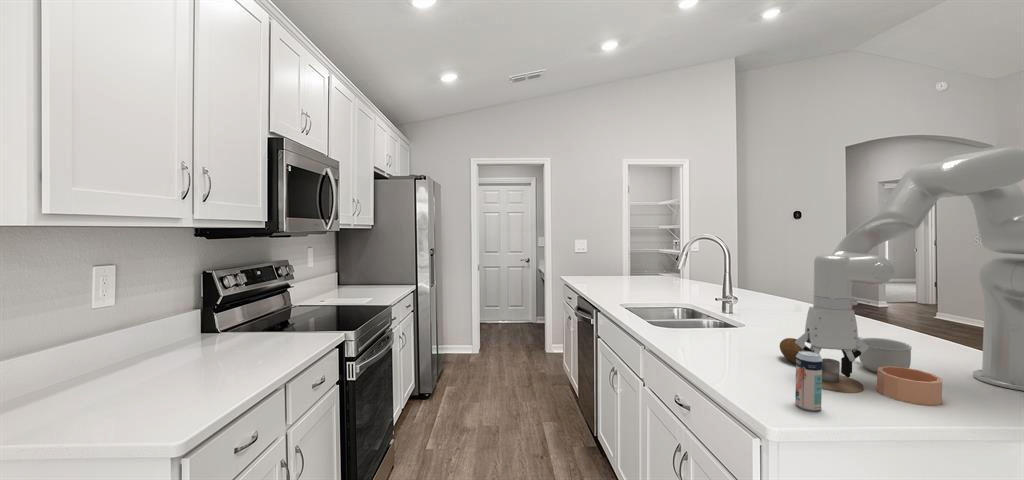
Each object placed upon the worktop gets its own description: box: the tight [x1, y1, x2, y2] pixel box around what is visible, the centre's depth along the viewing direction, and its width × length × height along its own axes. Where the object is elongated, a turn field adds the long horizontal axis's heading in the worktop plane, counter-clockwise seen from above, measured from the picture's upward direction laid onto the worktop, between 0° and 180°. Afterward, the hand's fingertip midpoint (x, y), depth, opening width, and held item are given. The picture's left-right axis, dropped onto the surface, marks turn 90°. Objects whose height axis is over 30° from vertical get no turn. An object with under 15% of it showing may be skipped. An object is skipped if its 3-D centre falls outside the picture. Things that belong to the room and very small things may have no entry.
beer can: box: [794, 351, 824, 412], centre depth 90 cm, size 5×5×12 cm
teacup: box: [857, 336, 912, 374], centre depth 113 cm, size 14×11×8 cm
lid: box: [822, 357, 865, 394], centre depth 104 cm, size 13×13×6 cm
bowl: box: [876, 366, 943, 407], centre depth 96 cm, size 11×11×5 cm
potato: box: [779, 337, 810, 365], centre depth 119 cm, size 7×12×7 cm, turn 8°
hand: (830, 373), depth 104 cm, fingers open, 5 cm apart
